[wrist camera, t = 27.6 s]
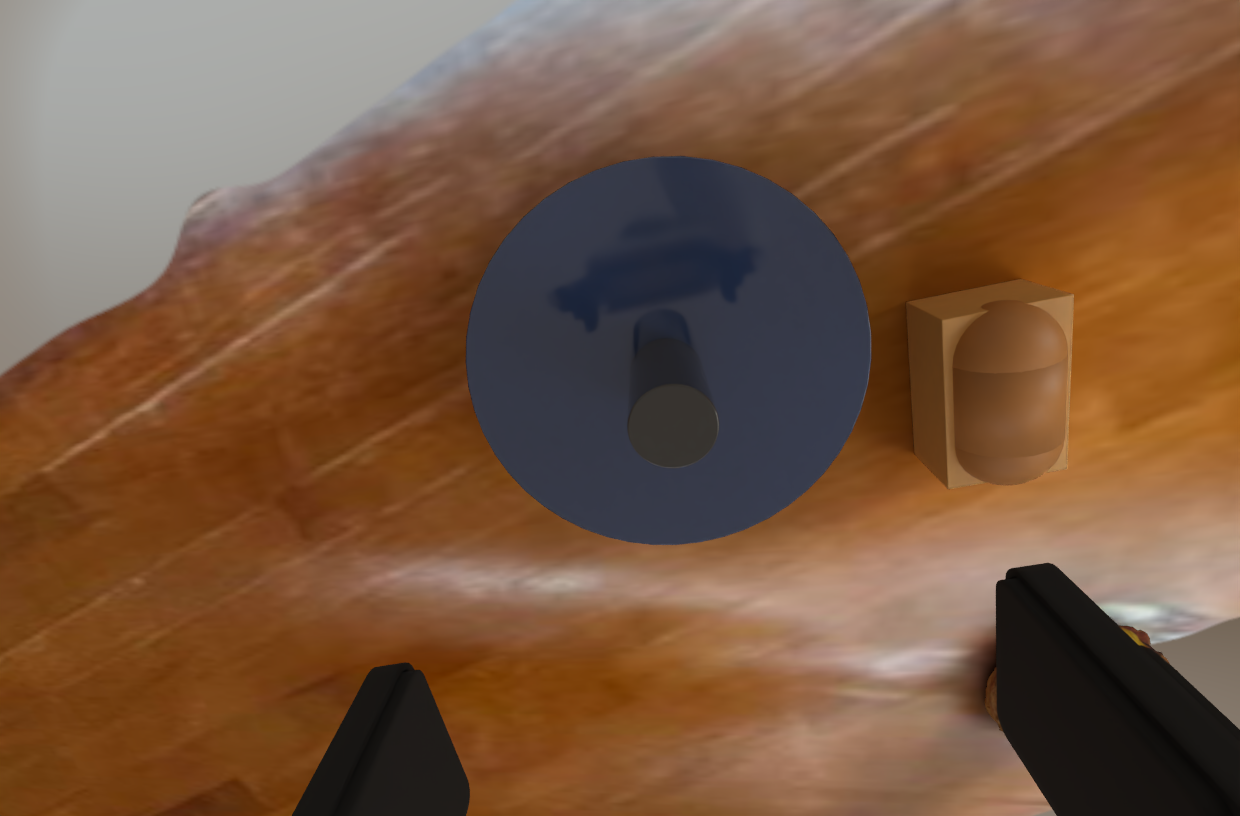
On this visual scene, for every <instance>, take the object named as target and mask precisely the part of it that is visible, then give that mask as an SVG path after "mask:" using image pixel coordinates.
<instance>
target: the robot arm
mask: <svg viewBox="0 0 1240 816" xmlns="http://www.w3.org/2000/svg"><path fill="white" fill-rule="evenodd" d="M996 679H997V715H998V719H999V722H1000V725H1001V727H1002V730H1003V732H1004V734H1005V736H1006V737H1007V739H1008V741H1009V742H1010V744H1011V745H1012V747H1013V748H1014V750H1015V751H1016V753H1017V755H1018V756H1019V758H1020V759H1021V761H1022V762H1023V764H1024V765H1025V767H1026V769H1027V770H1028V772H1029V773H1030V775H1031V776H1032V778H1033V779H1034V781H1035V783H1036V784H1037V786H1038V787H1039V789H1040V790H1041V792H1042V793H1043V795H1044V797H1045V798H1046V800H1047V801H1048V803H1049V804H1050V806H1051V807H1052V809H1053V810H1054V812H1055V814H1056V815H1057V816H1240V730H1239V729H1238V728H1237V727H1236V726H1235V725H1234V724H1233V723H1232V722H1231V721H1230V720H1229V719H1228V718H1227V717H1226V716H1224V715H1223V714H1222V713H1221V712H1220V711H1219V710H1218V709H1217V708H1216V707H1215V706H1214V705H1213V704H1212V703H1211V702H1209V701H1208V700H1207V699H1206V698H1205V697H1204V696H1203V695H1202V694H1201V693H1200V692H1199V691H1198V690H1197V689H1196V688H1194V687H1193V686H1192V685H1191V684H1190V683H1189V682H1188V681H1187V680H1186V679H1185V678H1184V677H1183V676H1181V674H1180V673H1179V672H1177V671H1176V670H1175V669H1174V668H1173V667H1172V666H1171V665H1170V664H1169V663H1168V662H1167V661H1166V660H1165V659H1164V658H1162V657H1161V656H1160V655H1159V654H1157V653H1156V652H1155V651H1153V650H1152V649H1150V648H1147V647H1145V646H1142V645H1138V644H1137V643H1136V642H1135V641H1134V640H1133V639H1132V638H1131V637H1130V636H1129V635H1128V634H1127V633H1126V632H1125V631H1123V630H1122V629H1121V628H1120V627H1119V626H1118V625H1117V624H1116V623H1115V622H1114V621H1113V620H1112V619H1111V618H1110V617H1109V616H1108V615H1107V614H1106V613H1105V612H1104V611H1103V610H1102V609H1100V608H1099V607H1098V606H1097V605H1096V604H1095V603H1094V602H1093V601H1092V600H1091V599H1090V598H1089V597H1088V596H1087V595H1086V594H1085V593H1084V592H1083V591H1082V590H1081V589H1080V588H1079V587H1077V586H1076V585H1075V584H1074V583H1073V582H1072V581H1071V580H1070V579H1069V578H1068V577H1067V576H1066V575H1065V574H1064V573H1063V572H1062V571H1061V570H1060V569H1059V568H1057V567H1056V566H1055V565H1053V564H1050V563H1044V564H1037V565H1031V566H1024V567H1018V568H1012V569H1009V570H1008V571H1007V573H1006V579H1005V580H1000V581H998V582H997V584H996ZM469 798H470V789H469V783H468V779H467V777H466V775H465V772H464V770H463V767H462V765H461V763H460V760H459V758H458V755H457V753H456V751H455V748H454V746H453V743H452V741H451V739H450V736H449V734H448V731H447V729H446V727H445V724H444V722H443V719H442V717H441V715H440V712H439V710H438V707H437V705H436V703H435V700H434V698H433V695H432V693H431V691H430V688H429V686H428V684H427V681H426V679H425V676H424V674H423V673H422V672H421V671H420V670H414V669H413V667H412V665H410V664H409V663H399V664H393V665H386V666H380V667H375V668H373V669H372V670H371V671H370V672H369V673H368V675H367V677H366V679H365V680H364V682H363V684H362V686H361V688H360V690H359V692H358V693H357V695H356V697H355V699H354V701H353V703H352V705H351V707H350V708H349V710H348V712H347V714H346V716H345V718H344V720H343V721H342V723H341V725H340V727H339V729H338V731H337V733H336V734H335V736H334V738H333V740H332V742H331V744H330V746H329V747H328V749H327V751H326V753H325V755H324V757H323V759H322V760H321V762H320V764H319V766H318V768H317V770H316V772H315V774H314V775H313V777H312V779H311V781H310V783H309V785H308V787H307V788H306V790H305V792H304V794H303V796H302V798H301V800H300V801H299V803H298V805H297V807H296V809H295V811H294V813H293V814H292V816H466V813H467V810H468V805H469Z"/></svg>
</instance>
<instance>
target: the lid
mask: <svg viewBox="0 0 1240 816" xmlns="http://www.w3.org/2000/svg"><path fill="white" fill-rule="evenodd" d="M870 365H871V328H870V321H869V315H868V308H867V304H866V301H865V297H864V294H863V291H862V287H861V284H860V281H859V279H858V276H857V274H856V272H855V270H854V268H853V266H852V264H851V261H850V259H849V257H848V255H847V254H846V252H845V251H844V249H843V248H842V246H841V245H840V243H839V242H838V240H837V239H836V237H835V236H834V234H833V233H832V232H831V230H830V229H829V228H828V227H827V226H826V225H825V224H824V223H823V221H822V220H821V219H820V218H819V217H818V216H817V215H816V214H815V213H814V212H813V211H812V210H811V209H810V208H809V207H807V206H806V205H805V204H804V203H803V202H801V201H800V200H799V199H798V198H797V197H795V196H794V195H793V194H792V193H790V192H788V191H787V190H785V189H783V188H782V187H780V186H779V185H777V184H775V183H774V182H772V181H770V180H769V179H767V178H765V177H762V176H760V175H758V174H755V173H753V172H751V171H748V170H746V169H744V168H741V167H738V166H734V165H730V164H727V163H723V162H719V161H716V160H711V159H703V158H695V157H687V156H661V157H648V158H642V159H636V160H629V161H624V162H620V163H617V164H614V165H611V166H607V167H604V168H601V169H598V170H595V171H593V172H591V173H588V174H586V175H584V176H582V177H580V178H578V179H576V180H573V181H571V182H569V183H568V184H566V185H565V186H563V187H561V188H560V189H558V190H557V191H555V192H554V193H552V194H551V195H549V196H548V197H546V198H545V199H543V200H542V201H541V202H540V203H539V204H538V205H537V206H535V207H534V208H533V209H532V210H531V211H530V212H529V213H527V214H526V215H525V216H524V217H523V218H522V219H521V220H520V221H519V223H518V224H517V225H516V226H515V227H514V228H513V229H512V231H511V232H510V233H509V234H508V235H507V236H506V238H505V239H504V240H503V242H502V243H501V245H500V246H499V248H498V250H497V251H496V253H495V254H494V256H493V257H492V259H491V260H490V262H489V264H488V266H487V268H486V271H485V273H484V275H483V277H482V279H481V281H480V283H479V285H478V289H477V292H476V295H475V298H474V301H473V305H472V308H471V311H470V318H469V324H468V330H467V336H466V369H467V378H468V387H469V391H470V395H471V399H472V403H473V407H474V411H475V413H476V416H477V418H478V421H479V423H480V426H481V429H482V431H483V433H484V435H485V437H486V439H487V441H488V443H489V444H490V446H491V448H492V450H493V452H494V453H495V455H496V456H497V458H498V459H499V460H500V462H501V463H502V465H503V466H504V467H505V469H506V470H507V471H508V473H509V474H510V475H511V476H512V477H513V478H514V479H515V480H516V481H517V483H518V484H519V485H520V486H521V487H522V488H523V489H524V490H525V491H526V492H527V493H529V494H530V495H531V496H532V497H533V498H535V499H536V500H537V501H538V502H539V503H541V504H542V505H543V506H544V507H546V508H548V509H549V510H551V511H552V512H554V513H555V514H557V515H558V516H560V517H561V518H563V519H565V520H567V521H569V522H571V523H573V524H575V525H577V526H579V527H581V528H583V529H586V530H589V531H591V532H594V533H597V534H600V535H603V536H606V537H609V538H614V539H618V540H622V541H627V542H633V543H642V544H650V545H679V544H688V543H697V542H703V541H708V540H712V539H716V538H721V537H725V536H728V535H730V534H733V533H736V532H739V531H742V530H745V529H747V528H749V527H751V526H753V525H756V524H758V523H760V522H762V521H764V520H766V519H768V518H770V517H771V516H773V515H774V514H776V513H777V512H779V511H781V510H782V509H784V508H785V507H787V506H788V505H790V504H791V503H792V502H793V501H795V500H796V499H797V498H798V497H800V496H801V495H802V494H803V493H805V492H806V491H807V490H808V489H809V488H810V487H811V486H812V485H813V484H814V483H815V482H816V481H817V480H818V479H819V478H820V477H821V476H822V475H823V474H824V472H825V471H826V470H827V469H828V467H829V466H830V465H831V463H832V462H833V461H834V459H835V458H836V457H837V455H838V454H839V453H840V451H841V449H842V447H843V446H844V444H845V442H846V441H847V439H848V437H849V435H850V434H851V432H852V430H853V427H854V425H855V422H856V420H857V418H858V415H859V413H860V410H861V408H862V404H863V400H864V397H865V393H866V389H867V386H868V380H869V372H870Z"/></svg>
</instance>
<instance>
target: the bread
mask: <svg viewBox="0 0 1240 816" xmlns="http://www.w3.org/2000/svg"><path fill="white" fill-rule="evenodd" d="M1073 305H1074V294H1071V293H1067V292H1064V291H1061V290H1057V289H1054V288H1050V287H1047V286H1043V285H1040V284H1037V283H1033V282H1030V281H1026V280H1023V279H1018V280H1013V281H1008V282H1003V283H998V284H993V285H988V286H983V287H978V288H973V289H968V290H963V291H958V292H953V293H948V294H943V295H938V296H933V297H928V298H923V299H918V300H913V301H908V302H906V314H907V331H908V349H909V367H910V385H911V403H912V420H913V438H914V454H915V455H916V456H917V457H918V458H919V459H920V460H921V462H922V463H923V464H924V465H925V466H926V467H927V468H928V469H929V470H930V471H931V472H932V473H933V474H934V475H935V476H936V477H937V478H938V479H939V480H940V481H941V482H942V483H943V484H944V486H945V487H946V488H947V489H953V488H959V487H964V486H970V485H976V484H982V483H991V484H996V485H1017V484H1022V483H1026V482H1028V481H1031V480H1034V479H1036V478H1038V477H1040V476H1041V475H1043V474H1044V473H1047V472H1053V471H1059V470H1065V469H1067V460H1068V434H1069V408H1070V382H1071V357H1072V331H1073Z"/></svg>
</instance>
